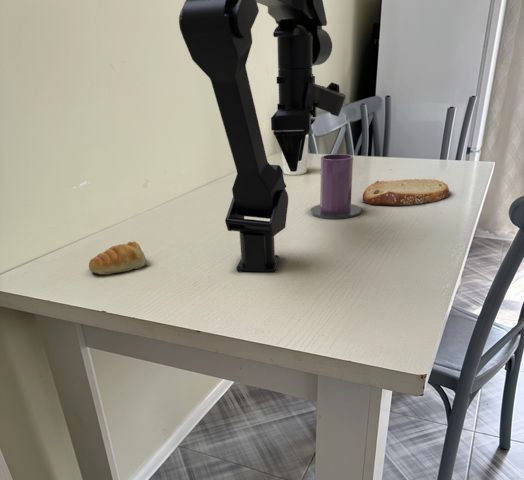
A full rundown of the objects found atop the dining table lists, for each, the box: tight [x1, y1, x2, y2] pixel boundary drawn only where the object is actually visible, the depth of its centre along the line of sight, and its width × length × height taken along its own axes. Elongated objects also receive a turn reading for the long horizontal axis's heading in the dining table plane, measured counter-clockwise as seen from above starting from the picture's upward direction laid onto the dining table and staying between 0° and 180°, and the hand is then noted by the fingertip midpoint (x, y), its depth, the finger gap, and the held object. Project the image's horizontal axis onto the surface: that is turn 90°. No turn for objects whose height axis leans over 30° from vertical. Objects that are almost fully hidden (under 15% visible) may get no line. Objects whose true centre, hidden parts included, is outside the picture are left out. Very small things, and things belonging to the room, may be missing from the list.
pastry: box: [88, 240, 147, 276], centre depth 88 cm, size 9×7×4 cm
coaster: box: [310, 203, 362, 220], centre depth 112 cm, size 11×11×1 cm
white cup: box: [280, 133, 310, 176], centre depth 145 cm, size 8×8×10 cm
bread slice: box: [362, 178, 450, 207], centre depth 119 cm, size 18×18×4 cm
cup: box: [319, 153, 354, 214], centre depth 109 cm, size 7×7×11 cm
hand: (296, 165), depth 93 cm, fingers open, 9 cm apart
